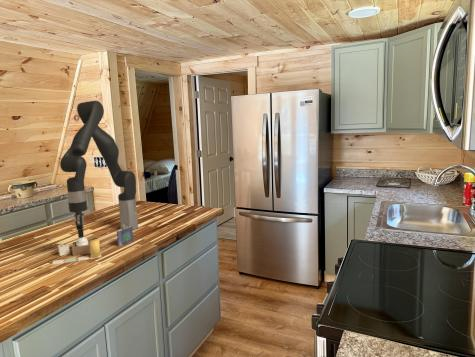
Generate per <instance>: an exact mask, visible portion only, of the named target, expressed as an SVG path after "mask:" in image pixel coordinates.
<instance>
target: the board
mask: <svg viewBox="0 0 475 357" xmlns="http://www.w3.org/2000/svg"><path fill="white" fill-rule="evenodd" d="M87 240H88V243H89V241H91V240H92V239H87ZM71 246H72V247H71V251H72V256H73V257H70V258H66V259H64V258H63V259H57V260H52V263H51V266H53V265H60V264H64V263H66V264H67V263H72V262H76V261H79V262H80V261H85V260H89V259H91V260H93V258H92V257H91V253H90V243H89V245H83V246H76V241H73V242H72V245H71ZM88 254H90V255H88ZM82 255H84V256H82ZM100 255H101V256H99V257H97V258H96V259H98V258H102V253H100ZM74 256H75V257H74ZM76 256H78V257H76Z"/></svg>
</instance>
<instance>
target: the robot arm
mask: <svg viewBox="0 0 475 357" xmlns="http://www.w3.org/2000/svg"><path fill="white" fill-rule="evenodd" d="M76 112H77V115H78V117H79V119H80V120H81V122H82V123H83V125H82V127H80V128H79V130H77V132H76V133H75V135H74V136H73V138H72V141H71V144H70V146H69V148H68V149H67V150H66V152H65V153H64V154H63V156H62V157H61V159H60V163H59V164H60V166H59V167H60V169H61V170H62V171H63V172H65V173H75V175H74V176H72V177H68V178H67V180H66V188H67V202H68V203H67V204H68V211H69V212H70V213H75V214H74V215H73V220H74V223H75V224H74V225H75V228H76V231H77V236H78V238H81V237H85V236H84V235H85V234H84V223H85V214H84V213H83V212H84V211H87V210H88V203H87V193H86V189H85V188H86V187H85V178H86V177H85V176H86V170H87V161H86V159H85V157H83V156H85V155H86V154H87V151H88V148H89V145H90V143H91V139H92V140H93V141H94V143H95V145H96V148H97V149H98V152H99V154H100V155H101V157H102V158H103V160H104V163H105V165H106V167H107V169H108V171H109V174H110V177H111V179H112V181H113V183H114V185H115V186H116V187H119V188H123V192H122V193H119V194H118V196H117V198H118V208H119V209H118V210H119V220H120V222H119V223H120V229H122V226H123V224H124V225H125V226H132V231H133V230H136V229H139V221H138V212H137V202H136V194H137V178H136V175H135V172H133V171H131V170H123V169H122V168H121V166H120V164H119V153H120V152H119V146H117V143H116V141H115V139H114V138H113V137H112V135H110V133H108V132H107V131H105V130H104V129H102V127H100V126H99V124H100V122H102V120H103V116H104V114H105V108H104V106H103V104H102V103H101V102H100V101H99V100H90V101H89V100H88V101H84V102H80V103H78V104H77V106H76ZM121 225H122V226H121Z"/></svg>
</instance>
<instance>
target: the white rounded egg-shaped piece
mask: <svg viewBox="0 0 475 357" xmlns="http://www.w3.org/2000/svg"><path fill="white" fill-rule="evenodd" d="M88 240H89V239H88V238H87V237H85V236H84V237H81V238H79V237H78V238H77V240H76V241H75V242H76V246H83V245H89V243H88Z"/></svg>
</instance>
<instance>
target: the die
mask: <svg viewBox="0 0 475 357" xmlns="http://www.w3.org/2000/svg"><path fill="white" fill-rule="evenodd" d="M57 249H58V250H57V251H58V255H59V256H60V257H61V256H65V255H67V256H68V255H70V254H71V251H70V245H69V244H68V243H63V244H58V245H57Z"/></svg>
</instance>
